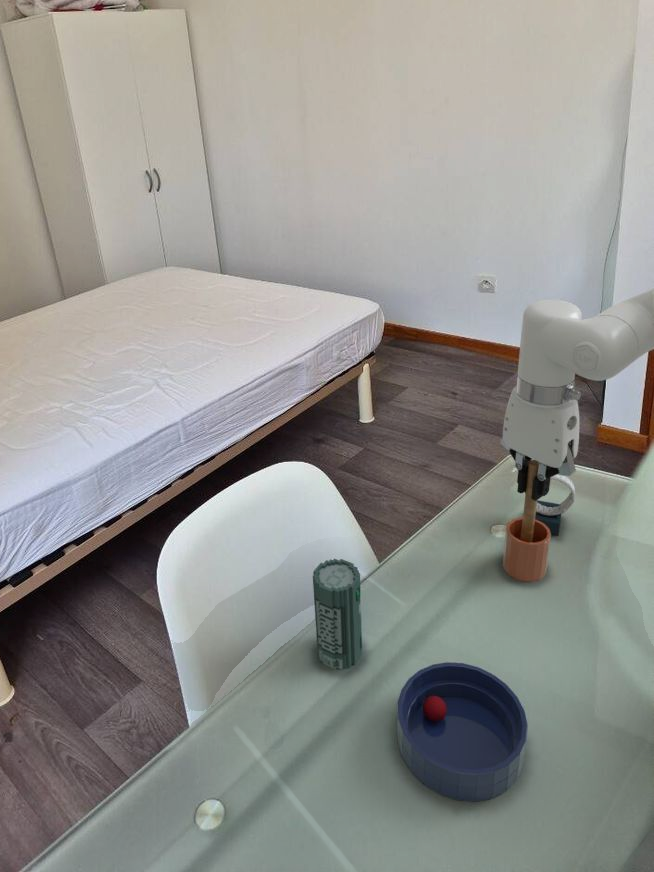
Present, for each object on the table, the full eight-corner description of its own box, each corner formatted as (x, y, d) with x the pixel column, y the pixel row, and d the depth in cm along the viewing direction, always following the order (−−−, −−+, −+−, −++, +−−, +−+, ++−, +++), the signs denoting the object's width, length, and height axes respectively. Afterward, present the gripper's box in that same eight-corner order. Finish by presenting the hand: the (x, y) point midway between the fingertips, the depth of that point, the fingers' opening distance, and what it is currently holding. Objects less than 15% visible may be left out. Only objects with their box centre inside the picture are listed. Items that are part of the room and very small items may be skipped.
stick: (532, 556, 111) (544, 462, 103) (526, 561, 110) (537, 467, 102) (523, 550, 112) (533, 457, 104) (516, 555, 111) (526, 462, 103)
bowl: (549, 750, 84) (553, 719, 82) (468, 832, 76) (471, 802, 74) (451, 671, 95) (452, 643, 93) (372, 737, 87) (371, 707, 85)
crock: (553, 570, 111) (559, 531, 108) (529, 590, 108) (534, 550, 104) (518, 550, 116) (522, 512, 113) (494, 568, 113) (497, 529, 109)
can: (368, 648, 100) (366, 568, 93) (348, 678, 96) (345, 597, 89) (332, 631, 103) (328, 553, 97) (311, 660, 99) (305, 580, 92)
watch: (523, 511, 125) (528, 461, 120) (571, 520, 122) (578, 469, 117) (519, 530, 120) (525, 479, 116) (569, 540, 117) (576, 487, 112)
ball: (438, 687, 89) (432, 697, 91) (421, 698, 87) (415, 708, 89) (454, 708, 87) (447, 718, 89) (437, 720, 85) (430, 730, 87)
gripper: (612, 397, 93) (593, 506, 102) (512, 361, 105) (503, 462, 113) (581, 416, 90) (564, 528, 98) (481, 377, 101) (474, 480, 109)
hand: (532, 492), depth 105 cm, fingers closed on stick, 1 cm apart
